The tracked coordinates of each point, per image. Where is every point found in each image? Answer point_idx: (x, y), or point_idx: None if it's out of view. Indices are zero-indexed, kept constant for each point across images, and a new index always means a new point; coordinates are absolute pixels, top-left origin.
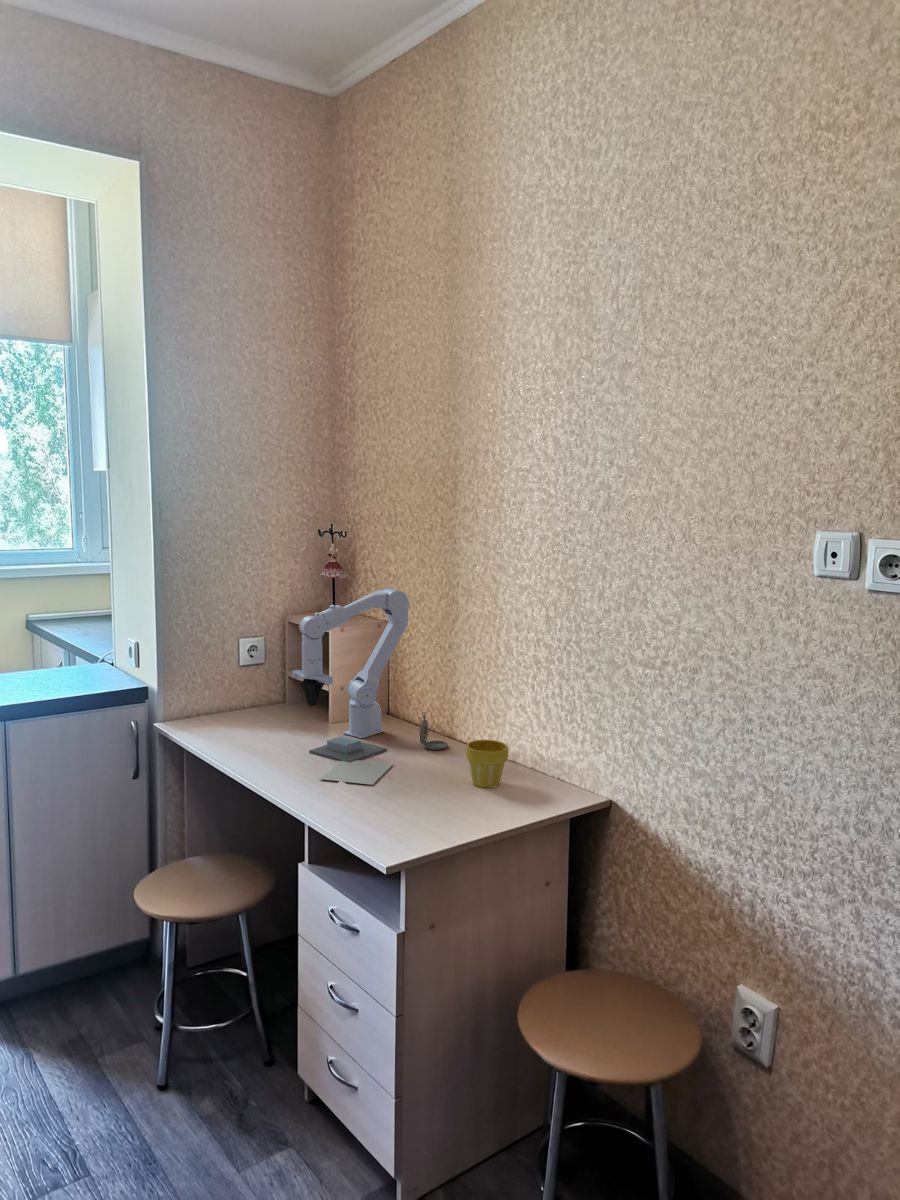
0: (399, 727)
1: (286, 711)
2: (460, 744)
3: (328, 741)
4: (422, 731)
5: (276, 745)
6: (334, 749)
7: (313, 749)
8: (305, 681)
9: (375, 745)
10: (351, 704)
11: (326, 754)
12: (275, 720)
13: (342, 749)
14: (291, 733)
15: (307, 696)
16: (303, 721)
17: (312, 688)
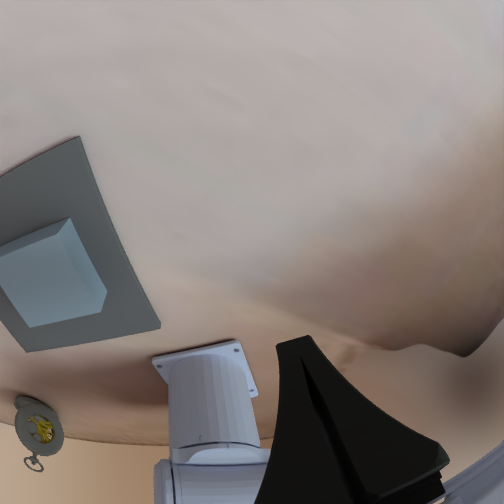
0: None
1: (488, 290)
2: (50, 430)
3: (51, 235)
4: (15, 424)
5: (275, 60)
6: (36, 231)
7: (80, 161)
8: (410, 488)
9: (55, 347)
10: (212, 448)
11: (6, 182)
12: (481, 237)
13: (4, 248)
14: (373, 206)
15: (326, 389)
16: (424, 294)
17: (259, 491)
